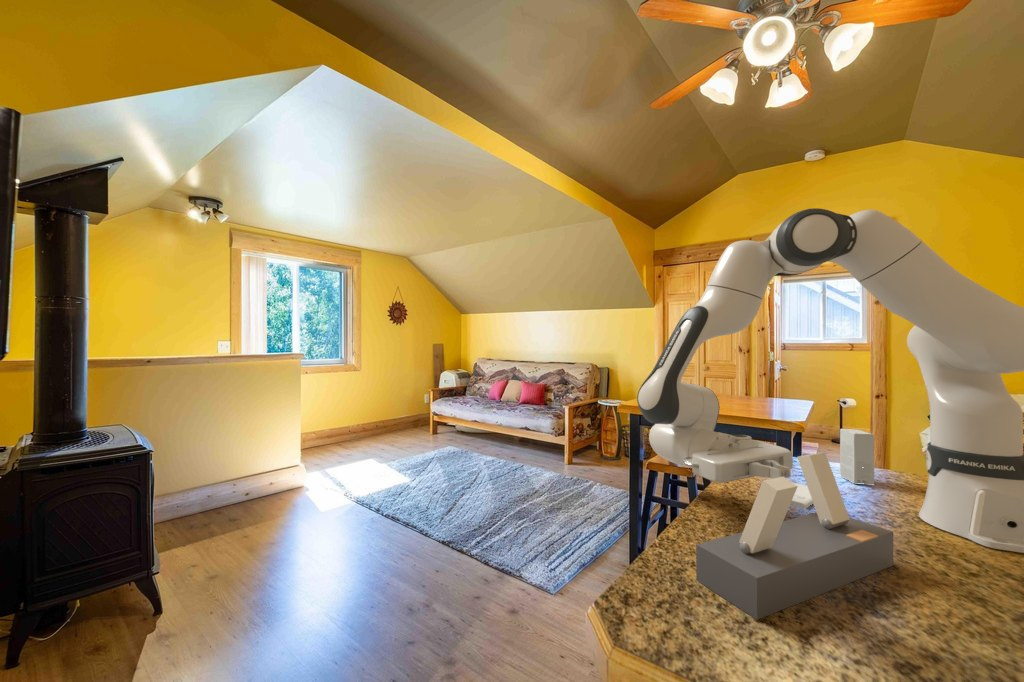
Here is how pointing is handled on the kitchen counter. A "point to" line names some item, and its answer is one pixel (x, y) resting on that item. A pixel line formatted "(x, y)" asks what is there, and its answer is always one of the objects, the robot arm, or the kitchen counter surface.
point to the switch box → (793, 563)
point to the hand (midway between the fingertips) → (785, 474)
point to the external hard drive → (802, 497)
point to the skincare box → (857, 456)
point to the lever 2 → (824, 490)
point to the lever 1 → (767, 514)
